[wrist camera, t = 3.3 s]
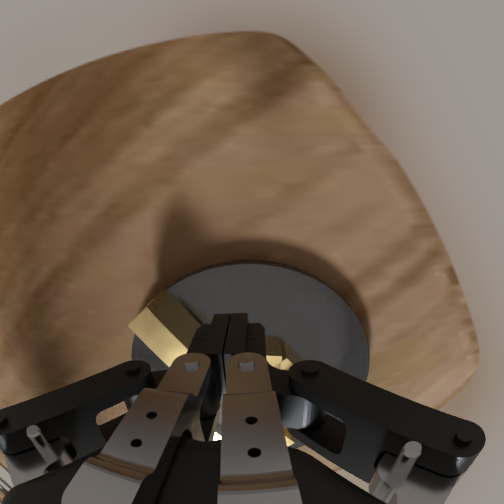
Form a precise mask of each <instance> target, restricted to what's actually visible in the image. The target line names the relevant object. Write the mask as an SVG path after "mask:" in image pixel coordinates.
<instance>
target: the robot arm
mask: <svg viewBox="0 0 504 504" xmlns="http://www.w3.org/2000/svg"><path fill="white" fill-rule="evenodd" d="M122 401H125V404H126V407H127V409H128V412H127V413H125V414H123V415H121V416H119V417H117V418H115V419H113V420H111V421H109V422H107V423H104V424H102V425H97V423H96V416H97V414H98V413H99V412H101V411H103V410H105V409H107V408H110V407H112V406H114V405H116V404H118V403H120V402H122ZM220 403H222V428H221V440H214V441H213V439H214V435H215V432H216V428H217V425H218V421H219V417H220V415H219V408H220ZM326 412H328V413H330V414H332V415H333V416H335V417H337V418H339V419H340V420H342V421H343V422H341V421H339V420H338V419H336V418H334V417H332V416H330V415H329V414H327V413H326ZM283 427H287V429H288V432H289V433H290V434H291V435H292V436H293V437H294V438H296V439H297V440H299V441H300V442H302V443H303V444H305V445H306V446H308V447H309V448H311V449H312V450H314V451H315V452H317V453H318V454H320V455H321V456H323V457H324V458H326V459H328V460H329V461H331V462H332V463H334V464H336V465H337V466H339V467H341V468H342V469H344V470H346V471H347V472H349V473H351V474H353V475H354V476H356V477H358V478H360V479H362V480H363V481H365V482H367V483H369V492H370V494H369V493H368V492H366V491H364V490H363V489H361V488H359V487H358V486H356V485H355V484H353V483H351V482H350V481H348V480H347V479H345V478H344V477H342V476H340V475H339V474H337V473H336V472H334V471H333V470H331V469H330V468H328V467H327V466H326V465H324V464H323V463H321V462H320V461H318V460H317V459H316V458H314V457H313V456H311V455H309V454H307V453H305V452H303V451H301V450H298V449H295V448H292V447H288V446H287V443H286V438H285V434H284V429H283ZM485 440H486V439H485V434H484V431H483V430H482V428H481V427H480V426H478V425H477V424H475V423H473V422H470V421H468V420H464V419H461V418H458V417H455V416H452V415H450V414H446V413H444V412H441V411H438V410H436V409H433V408H430V407H427V406H425V405H422V404H419V403H417V402H414V401H412V400H409V399H406V398H404V397H401V396H399V395H396V394H394V393H391V392H389V391H387V390H384V389H382V388H379V387H377V386H375V385H372V384H370V383H368V382H365V381H363V380H361V379H358V378H356V377H354V376H352V375H349V374H347V373H345V372H343V371H341V370H338V369H336V368H334V367H332V366H330V365H328V364H325V363H323V362H321V361H317V360H304V361H300V362H297V363H295V364H293V365H292V366H291V367H290V368H289V370H282V369H278V368H275V367H273V366H271V365H270V364H269V363H268V362H267V359H266V343H265V328H264V327H263V326H262V325H261V324H260V323H249V322H248V313H232V314H230V313H227V314H214V316H213V319H212V322H211V324H203V325H202V326H200V327H199V328H198V329H197V330H196V332H195V334H194V337H193V339H192V341H191V344H190V346H189V348H188V351H187V353H186V354H183V355H181V356H179V357H177V358H176V359H175V360H174V361H173V362H172V364H171V366H170V367H169V369H167V370H161V371H153V372H152V370H151V367H150V365H149V364H148V363H147V362H145V361H141V360H132V361H127V362H124V363H122V364H119V365H117V366H115V367H112V368H110V369H108V370H105V371H103V372H100V373H98V374H95V375H93V376H90V377H88V378H85V379H83V380H80V381H78V382H75V383H73V384H70V385H68V386H65V387H62V388H60V389H57V390H55V391H52V392H49V393H46V394H44V395H41V396H38V397H36V398H33V399H30V400H27V401H24V402H21V403H19V404H16V405H13V406H10V407H7V408H4V409H1V410H0V451H1V452H2V453H3V454H4V456H5V459H6V463H7V467H8V470H9V473H10V476H11V479H12V482H13V485H14V487H13V488H12V489H11V490H10V491H8V492H7V494H6V495H5V497H4V498H3V501H2V504H444V502H445V501H446V499H447V497H448V496H449V494H450V492H451V490H452V488H453V487H454V486H455V485H456V484H457V482H458V481H459V480H460V479H461V477H462V476H463V475H464V473H465V472H466V471H467V470H468V468H469V467H470V465H471V464H472V463H473V461H474V460H475V458H476V457H477V456H478V454H479V453H480V451H481V450H482V448H483V447H484V444H485Z"/></svg>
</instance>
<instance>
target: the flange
mask: <svg viewBox="0 0 504 504" xmlns="http://www.w3.org/2000/svg"><path fill="white" fill-rule="evenodd" d="M167 290H168V291H169V292H170V293H171V294H172V295H173V296H174V297H175V298H176V299H177V301H178V302H179V303H180V304H181V305H182V306H183V307H184V308H185V309H186V310H187V311H188V312H189V313H190V314H191V315H192V316H193V317H194V318H195V319H196V320H197V321H198V322H199V323H200V324H201V326H202V325H203V324H211V322H212V319H213V316H214V314H227V313H230V314H232V313H248V322H249V323H260V324H261V325H262V326H263V327H264V328H265V336H273V337H279V338H280V341H281V340H282V339H284V340H285V341H286V342H287V343H288V344H289V345H290V346H291V347H292V348H293V349H294V350H295V351H296V352H297V353H298V354H299V355H300V356H301V357H302V358H303V359H304V360H317V361H321V362H323V363H325V364H328V365H330V366H332V367H334V368H336V369H338V370H341V371H343V372H345V373H347V374H349V375H352V376H354V377H356V378H358V379H361V380H363V381H365V382H366V380H367V376H368V371H369V360H370V359H369V347H368V343H367V339H366V335H365V332H364V330H363V328H362V325H361V323H360V321H359V320H358V318H357V316H356V315H355V313H354V312H353V310H352V309H351V308H350V307H349V305H348V304H347V303H346V302H345V301H344V300H343V298H342V297H341V296H340V295H339V294H338V293H337V292H336V291H335V290H333V289H332V288H331V287H330V286H328V285H327V284H326V283H325V282H323V281H321V280H320V279H318V278H316V277H314V276H313V275H311V274H309V273H307V272H304V271H302V270H299V269H297V268H294V267H291V266H287V265H283V264H280V263H274V262H267V261H260V260H240V261H231V262H223V263H219V264H215V265H211V266H207V267H205V268H202V269H200V270H197V271H195V272H192V273H190V274H188V275H186V276H185V277H183V278H181V279H179V280H178V281H176V282H175V283H174V284H172V285H171V286H170V287H169V288H167ZM132 360H141V361H145V362H147V363H148V364H149V365H150V367H151V370H152V372H153V371H161V370H167V369H169V367H168V366H167V365H166V364H165V363H164V362H163V361H162V360H161V359H160V358H159V357H158V356H157V355H156V354H155V353H154V352H153V351H152V350H151V349H150V348H149V347H148V346H147V345H146V344H145V343H144V342H143V341H142V340H141V339H140V338H139V337H138V336H137V335H136V334H135V336H134V340H133V345H132ZM326 413H327V414H329V415H330V416H332V417H334V418H336V419H338V420H339V421H342V420H340V419H339V418H337V417H335V416H333V415H332V414H330V413H328V412H326ZM219 415H220V417H219V421H218V425H217V428H216V429H217V431H218V433H219V434H220V435H221V428H222V403H220V408H219ZM294 439H295V443H294V444H292V445H290V446H288V447H292V448H298V447H301V446H303V445H305V444H303V443H302V442H300V441H299V440H297V439H296V438H294Z"/></svg>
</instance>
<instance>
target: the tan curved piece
mask: <svg viewBox="0 0 504 504" xmlns="http://www.w3.org/2000/svg"><path fill="white" fill-rule="evenodd" d="M200 326H201V324H200V323H199V322H198V321H197V320H196V319H195V318H194V317H193V316H192V315H191V314H190V313H189V312H188V311H187V310H186V309H185V308H184V307H183V306H182V305H181V304H180V303H179V302H178V301H177V299H176V298H175V297H174V296H173V295H172V294H171V293H170V292H169V291H168V290H167V289H166V287H165V288H164V289H163V290H162V291H161V292H160V293H159V294H158V295H157V296H156V297H155V298H153V299H152V300H151V301H150V302H149V303H148V304H147V305H146V306H145V307H144V308H143V309H142V310H141V311H140V312H139V314H138V315H137V316H136V317H135V318H134V319H133V320H132V321H131V322H130V323H129V324H128V327H129V328H130V329H131V330H132V331H133V332H134V333H135V334H136V335H137V336H138V337H139V338H140V339H141V340H142V341H143V342H144V343H145V344H146V345H147V346H148V347H149V348H150V349H151V350H152V351H153V352H154V353H155V354H156V355H157V356H158V357H159V358H160V359H161V360H162V361H163V362H164V363H165V364H166V365H167V366H168V367H170V366H171V364H172V362H173V361H174V360H175V359H176V358H177V357H179V356H181V355H183V354H186V353H187V351H188V348H189V346H190V344H191V341H192V339H193V337H194V334H195V332H196V330H197V329H198V328H199V327H200ZM265 343H266V359H267V362H268V363H269V364H270V365H271V366H273V367H275V368H278V369H282V370H289V368H290V367H291V366H292V365H293V364H295V363H297V362H300V361H304V359H303V358H302V357H301V356H300V355H299V354H298V353H297V352H296V351H295V350H294V349H293V348H292V347H291V346H290V345H289V344H288V343H287V342H286V341H285V340H284V339H282V340H281V341H280V338H279V337H273V336H265ZM283 429H284V434H285V438H286V443H287V446H290V445H292V444H294V443H295V439H294V437H293V436H292V435H291V434H290V433H289V432H288V429H287V427H283ZM214 440H221V435H220V434H219V433H218V431H217V429H216V432H215V435H214V439H213V441H214Z"/></svg>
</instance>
